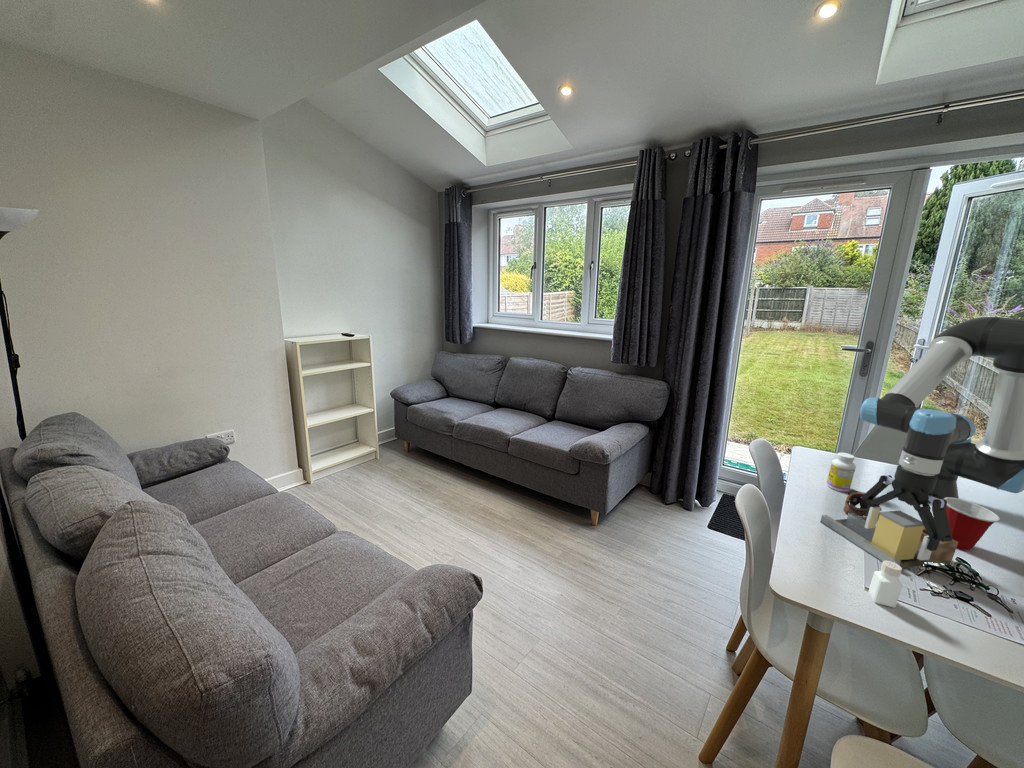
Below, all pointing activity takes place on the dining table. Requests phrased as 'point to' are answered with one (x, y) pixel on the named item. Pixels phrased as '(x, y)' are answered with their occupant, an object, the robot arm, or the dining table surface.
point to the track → (866, 539)
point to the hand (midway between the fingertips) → (894, 542)
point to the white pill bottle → (886, 584)
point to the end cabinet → (941, 550)
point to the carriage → (898, 534)
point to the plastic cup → (968, 522)
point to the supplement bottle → (841, 472)
